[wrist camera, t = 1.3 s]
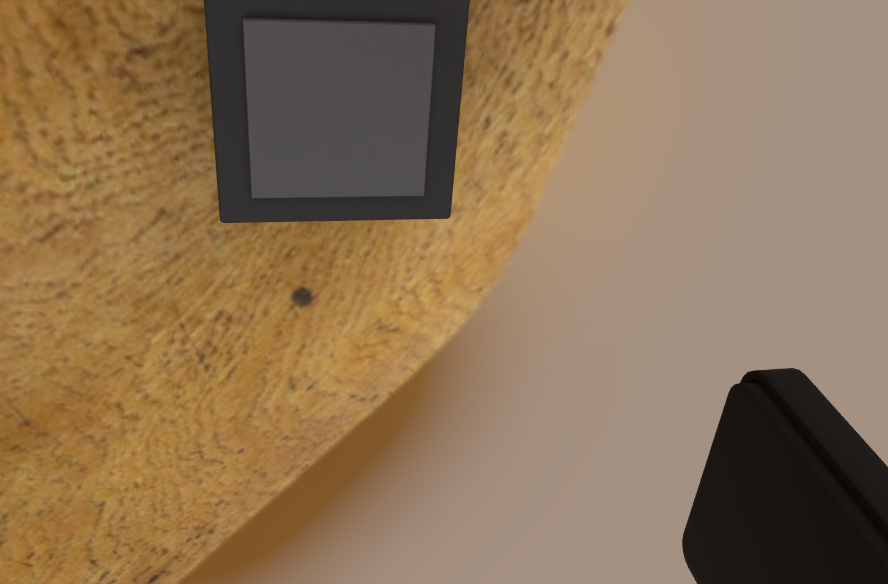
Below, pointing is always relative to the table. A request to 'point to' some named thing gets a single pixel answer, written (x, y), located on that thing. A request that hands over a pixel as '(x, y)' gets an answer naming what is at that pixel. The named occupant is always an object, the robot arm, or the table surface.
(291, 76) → the small cube
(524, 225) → the table surface
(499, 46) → the table surface
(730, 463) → the robot arm
